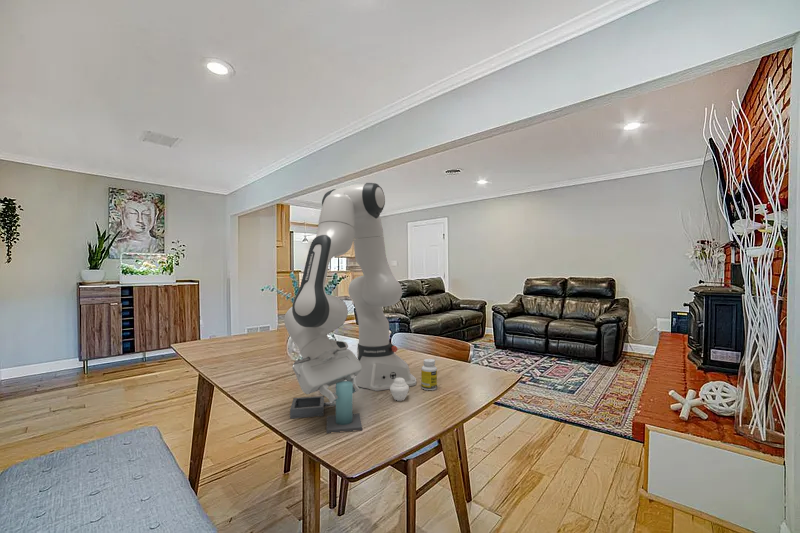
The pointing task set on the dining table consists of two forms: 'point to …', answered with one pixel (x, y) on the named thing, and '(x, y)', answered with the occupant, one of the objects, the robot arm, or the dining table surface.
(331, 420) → the rubber mat
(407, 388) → the muffin
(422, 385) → the supplement bottle
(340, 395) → the teal peg
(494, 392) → the dining table surface
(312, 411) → the socket
